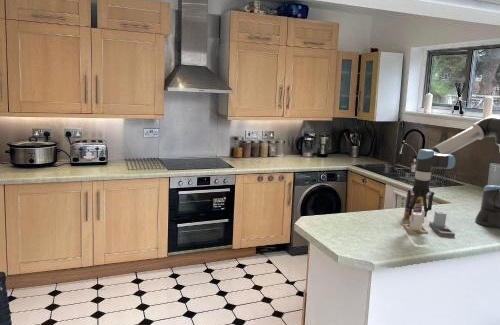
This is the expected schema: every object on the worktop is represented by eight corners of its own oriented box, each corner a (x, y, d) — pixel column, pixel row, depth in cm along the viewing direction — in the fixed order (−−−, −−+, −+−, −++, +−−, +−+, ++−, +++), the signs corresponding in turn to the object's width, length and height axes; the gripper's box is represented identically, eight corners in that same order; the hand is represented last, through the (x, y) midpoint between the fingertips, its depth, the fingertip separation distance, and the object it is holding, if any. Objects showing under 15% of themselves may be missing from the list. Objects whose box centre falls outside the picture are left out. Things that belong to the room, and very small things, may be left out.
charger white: (418, 229, 223) (420, 212, 221) (420, 231, 218) (423, 215, 217) (409, 228, 223) (412, 211, 222) (412, 230, 219) (414, 214, 217)
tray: (421, 229, 225) (422, 225, 225) (427, 235, 215) (428, 231, 215) (402, 227, 226) (403, 223, 226) (407, 233, 216) (408, 229, 216)
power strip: (425, 222, 238) (425, 216, 237) (437, 224, 237) (438, 217, 236) (439, 237, 213) (440, 231, 212) (454, 239, 212) (455, 232, 212)
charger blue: (441, 227, 228) (443, 211, 226) (444, 229, 223) (446, 213, 222) (432, 226, 228) (435, 210, 227) (435, 229, 224) (437, 212, 222)
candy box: (403, 219, 241) (406, 194, 239) (404, 217, 245) (407, 192, 242) (419, 222, 237) (423, 196, 234) (420, 220, 241) (424, 195, 238)
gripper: (438, 179, 219) (431, 221, 223) (402, 176, 220) (396, 218, 225) (443, 182, 211) (436, 225, 215) (406, 179, 213) (400, 222, 217)
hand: (416, 221), depth 220 cm, fingers open, 5 cm apart
